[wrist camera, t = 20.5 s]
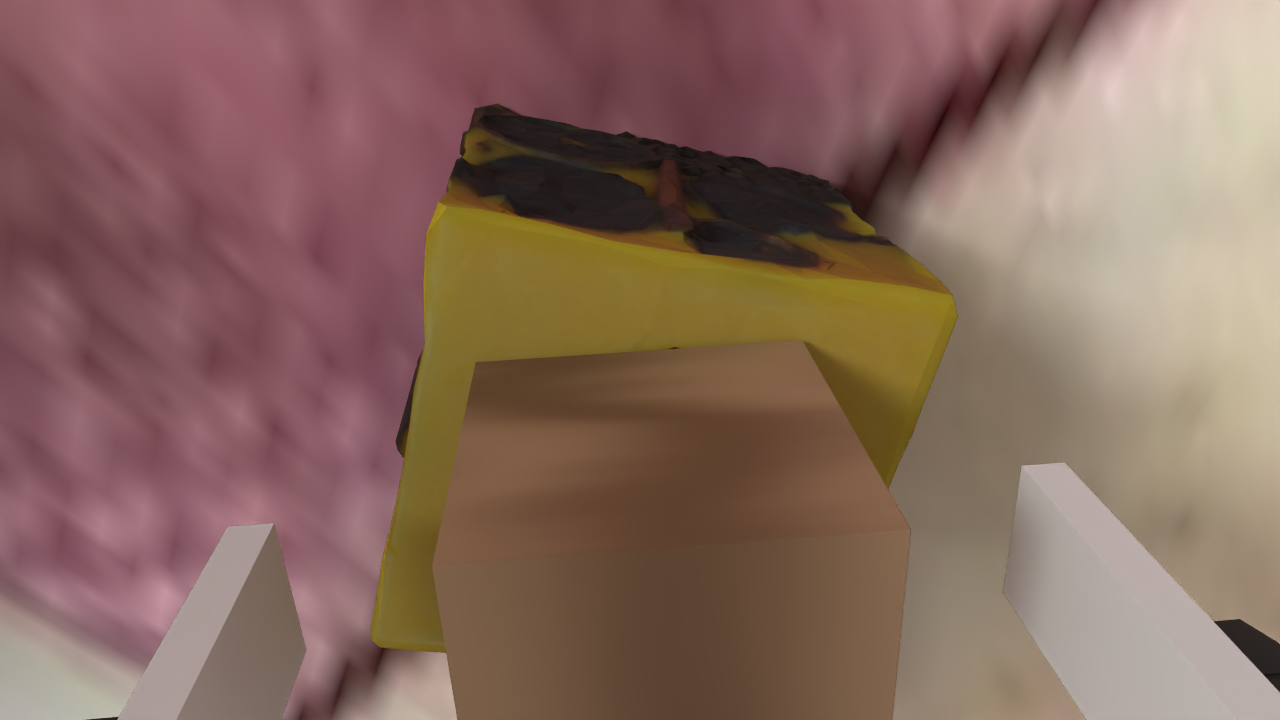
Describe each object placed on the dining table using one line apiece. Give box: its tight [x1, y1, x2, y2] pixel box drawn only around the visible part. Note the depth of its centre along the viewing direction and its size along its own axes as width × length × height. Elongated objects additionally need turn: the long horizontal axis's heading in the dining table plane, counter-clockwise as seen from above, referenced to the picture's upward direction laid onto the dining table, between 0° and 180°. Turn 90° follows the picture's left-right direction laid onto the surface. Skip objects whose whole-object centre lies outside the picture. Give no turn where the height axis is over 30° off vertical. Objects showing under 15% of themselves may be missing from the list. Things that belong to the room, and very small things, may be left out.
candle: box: [371, 104, 958, 653], centre depth 23 cm, size 10×10×10 cm
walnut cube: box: [432, 340, 911, 720], centre depth 16 cm, size 6×6×6 cm
